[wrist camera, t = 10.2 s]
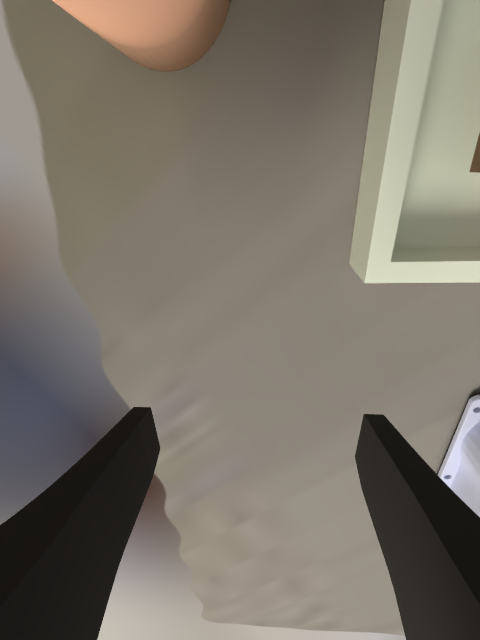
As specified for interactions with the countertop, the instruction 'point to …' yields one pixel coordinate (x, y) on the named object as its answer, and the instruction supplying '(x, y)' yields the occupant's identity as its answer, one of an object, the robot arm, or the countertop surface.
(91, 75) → the countertop surface
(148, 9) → the terracotta cup
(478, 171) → the walnut block
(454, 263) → the pale green tray
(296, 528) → the countertop surface
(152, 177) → the countertop surface
